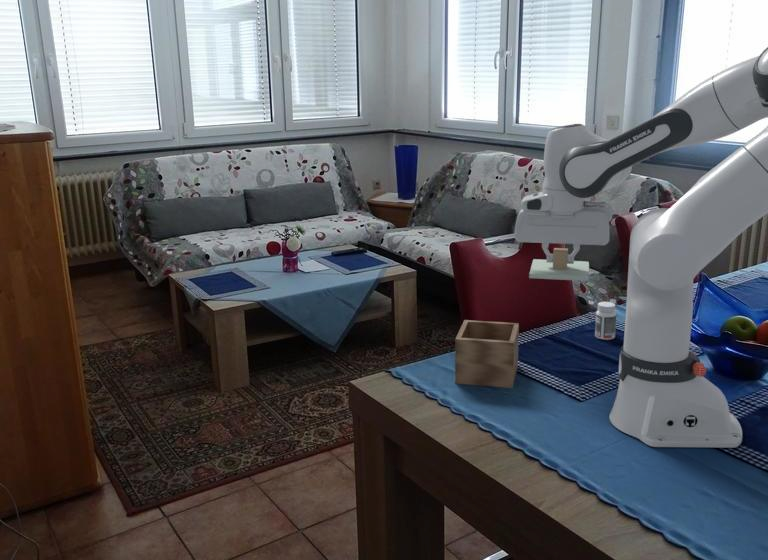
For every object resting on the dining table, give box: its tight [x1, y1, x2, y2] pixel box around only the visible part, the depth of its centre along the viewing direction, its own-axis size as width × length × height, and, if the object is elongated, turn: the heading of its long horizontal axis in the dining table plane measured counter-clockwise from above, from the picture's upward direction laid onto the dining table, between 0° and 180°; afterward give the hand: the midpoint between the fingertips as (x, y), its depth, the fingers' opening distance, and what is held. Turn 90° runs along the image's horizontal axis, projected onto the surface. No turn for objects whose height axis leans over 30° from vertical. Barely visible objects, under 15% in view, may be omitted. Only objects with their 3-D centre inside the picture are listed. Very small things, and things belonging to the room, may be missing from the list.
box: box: [454, 319, 520, 389], centre depth 156 cm, size 12×12×10 cm
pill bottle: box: [594, 301, 617, 341], centre depth 176 cm, size 5×5×8 cm
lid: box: [528, 247, 590, 282], centre depth 161 cm, size 12×12×5 cm
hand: (560, 262), depth 161 cm, fingers closed on lid, 3 cm apart
